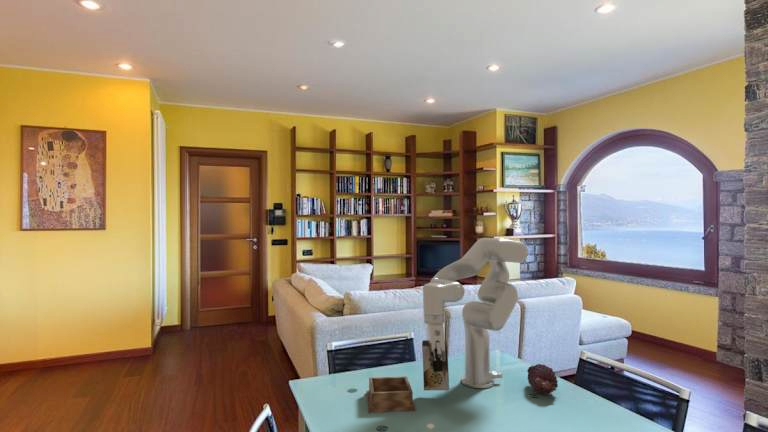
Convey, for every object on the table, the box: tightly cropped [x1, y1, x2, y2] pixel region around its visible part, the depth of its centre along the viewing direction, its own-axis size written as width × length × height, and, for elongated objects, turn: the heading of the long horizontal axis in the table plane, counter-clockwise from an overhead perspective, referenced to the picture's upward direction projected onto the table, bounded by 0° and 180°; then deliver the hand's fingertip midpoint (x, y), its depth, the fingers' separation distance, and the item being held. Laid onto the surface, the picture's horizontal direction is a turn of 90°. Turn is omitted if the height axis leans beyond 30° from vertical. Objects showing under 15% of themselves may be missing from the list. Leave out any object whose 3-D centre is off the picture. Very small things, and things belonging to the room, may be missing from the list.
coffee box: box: [421, 339, 450, 391], centre depth 152 cm, size 9×6×16 cm
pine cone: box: [527, 363, 559, 396], centre depth 157 cm, size 18×10×10 cm, turn 4°
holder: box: [365, 376, 417, 414], centre depth 149 cm, size 16×16×6 cm
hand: (435, 366), depth 152 cm, fingers closed on coffee box, 7 cm apart
